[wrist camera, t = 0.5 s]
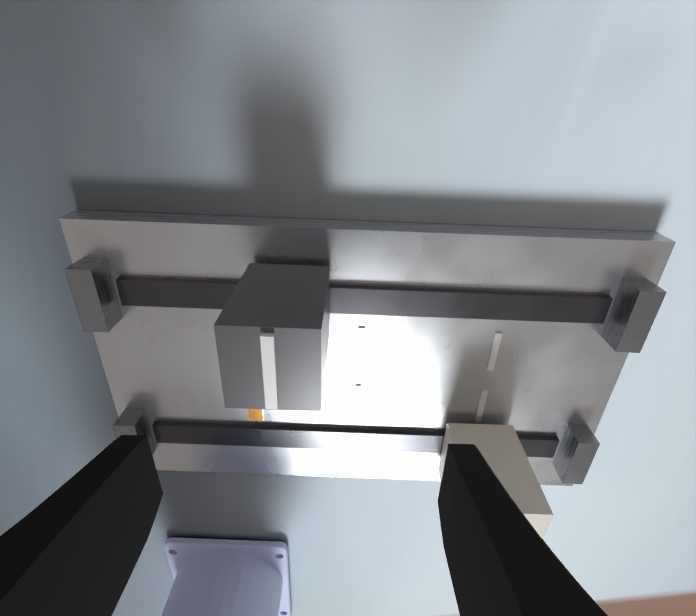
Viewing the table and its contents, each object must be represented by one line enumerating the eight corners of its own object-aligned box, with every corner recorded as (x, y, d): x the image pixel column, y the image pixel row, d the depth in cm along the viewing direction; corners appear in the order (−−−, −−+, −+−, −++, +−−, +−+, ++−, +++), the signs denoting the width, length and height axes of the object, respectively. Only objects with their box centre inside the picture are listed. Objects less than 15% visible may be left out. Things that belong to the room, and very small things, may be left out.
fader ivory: (499, 470, 22) (534, 568, 18) (438, 468, 22) (458, 565, 18) (512, 425, 21) (555, 519, 16) (447, 422, 21) (471, 516, 16)
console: (562, 468, 24) (582, 505, 22) (143, 452, 24) (123, 487, 22) (656, 232, 17) (697, 253, 15) (76, 210, 17) (38, 227, 15)
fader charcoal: (329, 334, 18) (320, 415, 14) (255, 332, 18) (223, 412, 14) (330, 266, 17) (320, 332, 12) (249, 263, 17) (211, 328, 12)
